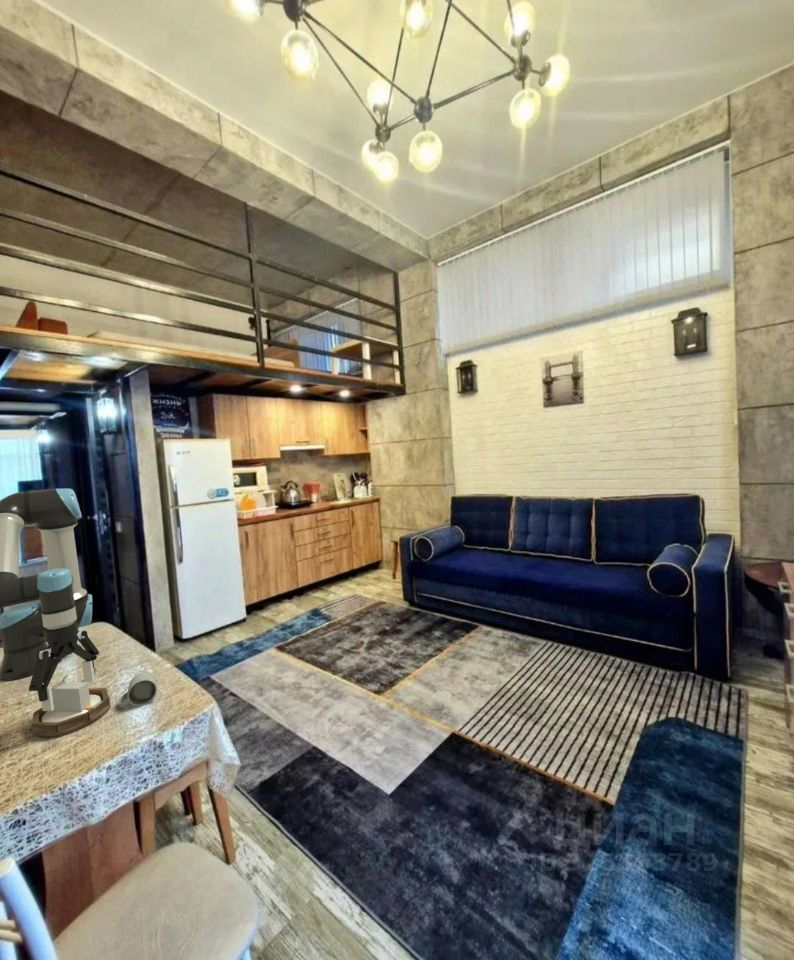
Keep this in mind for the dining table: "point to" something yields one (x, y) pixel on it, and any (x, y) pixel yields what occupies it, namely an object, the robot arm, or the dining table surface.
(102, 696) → the dial housing
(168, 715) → the dining table surface
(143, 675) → the ceramic mug
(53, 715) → the dial
